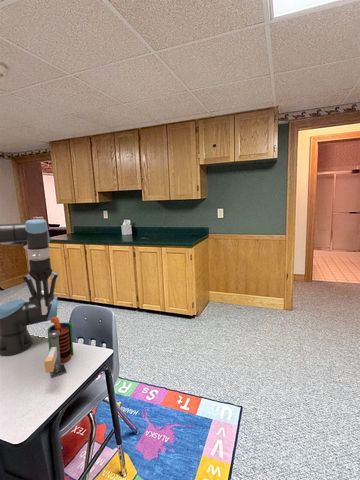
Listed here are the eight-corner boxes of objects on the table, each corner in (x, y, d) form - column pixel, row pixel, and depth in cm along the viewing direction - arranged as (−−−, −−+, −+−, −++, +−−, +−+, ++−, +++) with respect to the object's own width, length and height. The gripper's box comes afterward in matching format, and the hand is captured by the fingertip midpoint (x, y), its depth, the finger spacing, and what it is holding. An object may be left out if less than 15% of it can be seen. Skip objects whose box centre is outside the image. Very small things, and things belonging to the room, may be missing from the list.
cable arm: (58, 356, 109) (57, 345, 108) (53, 371, 99) (52, 360, 99) (51, 357, 109) (50, 346, 108) (45, 372, 99) (44, 361, 98)
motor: (62, 367, 116) (59, 324, 113) (45, 364, 118) (40, 322, 114) (76, 353, 126) (73, 314, 123) (59, 351, 127) (56, 313, 124)
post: (48, 370, 113) (45, 331, 111) (63, 365, 117) (60, 327, 114) (51, 378, 109) (47, 337, 106) (66, 372, 112) (63, 333, 109)
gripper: (18, 261, 100) (24, 319, 104) (55, 259, 103) (59, 315, 107) (24, 257, 107) (30, 311, 111) (59, 255, 110) (63, 308, 114)
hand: (44, 313), depth 109 cm, fingers closed
